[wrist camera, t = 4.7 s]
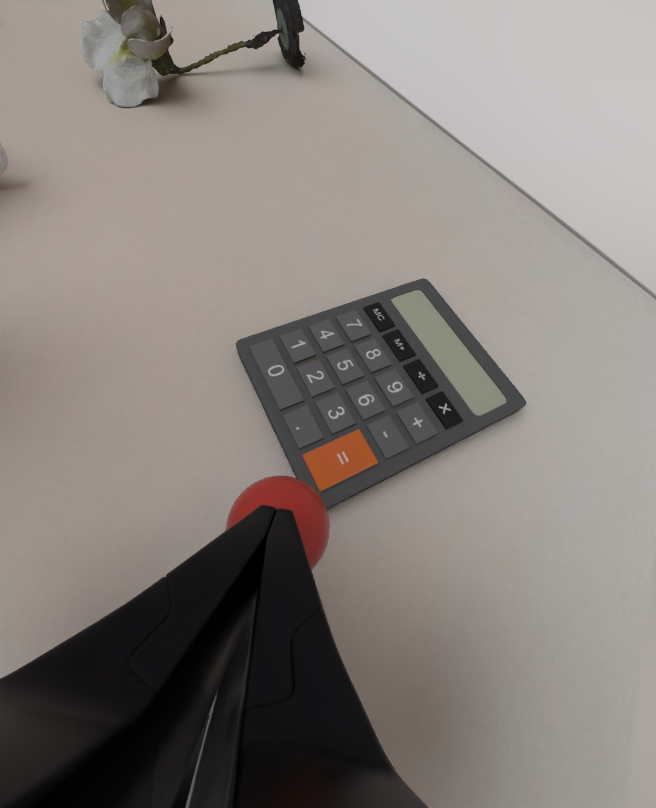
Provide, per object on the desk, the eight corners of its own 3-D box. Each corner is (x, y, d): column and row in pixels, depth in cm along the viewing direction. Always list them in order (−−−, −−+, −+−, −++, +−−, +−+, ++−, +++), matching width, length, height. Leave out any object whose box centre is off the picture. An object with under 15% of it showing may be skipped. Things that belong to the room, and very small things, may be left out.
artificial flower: (316, 96, 40) (324, -20, 31) (127, 148, 37) (68, 37, 27) (286, 36, 41) (284, -96, 31) (98, 82, 38) (30, -51, 28)
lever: (248, 482, 13) (237, 452, 10) (331, 499, 13) (343, 473, 10) (-20, 1381, 5) (-338, 2197, 3) (175, 1419, 5) (59, 2271, 3)
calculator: (233, 339, 21) (426, 275, 25) (235, 348, 22) (422, 284, 26) (315, 513, 17) (530, 402, 21) (314, 515, 18) (521, 409, 22)
